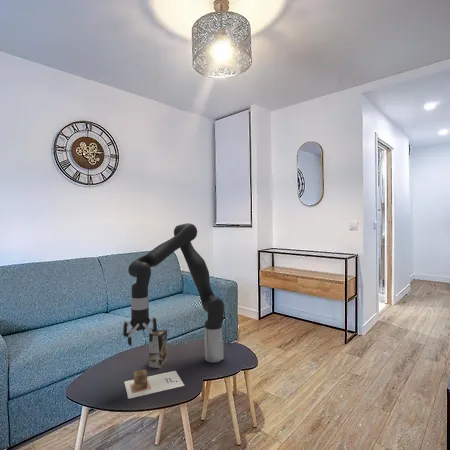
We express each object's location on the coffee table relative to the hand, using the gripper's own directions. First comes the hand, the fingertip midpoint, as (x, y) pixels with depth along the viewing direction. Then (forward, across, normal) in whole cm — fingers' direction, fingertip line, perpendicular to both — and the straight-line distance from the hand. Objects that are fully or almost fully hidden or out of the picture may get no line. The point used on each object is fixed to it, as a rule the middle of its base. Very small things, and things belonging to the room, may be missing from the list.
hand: (140, 343), depth 133 cm
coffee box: (+20, -12, -19) cm, 30 cm away
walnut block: (+19, 0, 0) cm, 19 cm away
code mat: (+19, -6, 0) cm, 20 cm away
